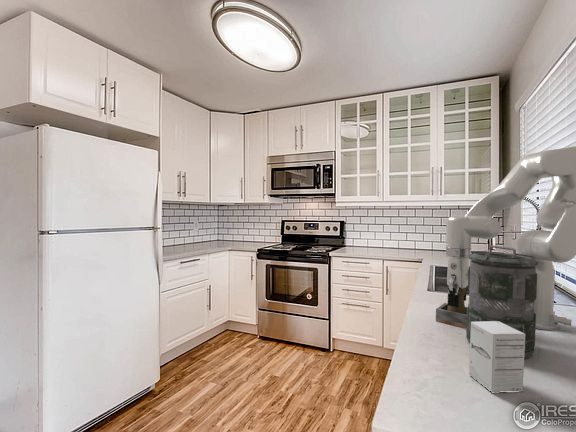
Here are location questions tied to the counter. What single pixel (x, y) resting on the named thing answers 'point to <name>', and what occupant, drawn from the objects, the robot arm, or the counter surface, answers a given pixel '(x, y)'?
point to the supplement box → (497, 356)
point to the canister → (503, 292)
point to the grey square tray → (451, 316)
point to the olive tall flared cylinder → (461, 302)
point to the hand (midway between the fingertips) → (457, 303)
